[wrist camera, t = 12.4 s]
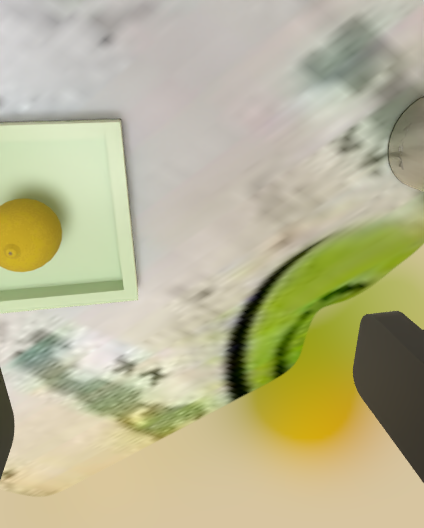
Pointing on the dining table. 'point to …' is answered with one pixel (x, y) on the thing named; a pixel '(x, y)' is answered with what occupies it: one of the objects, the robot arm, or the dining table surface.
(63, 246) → the tray
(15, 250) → the lemon
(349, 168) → the dining table surface
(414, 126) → the robot arm
